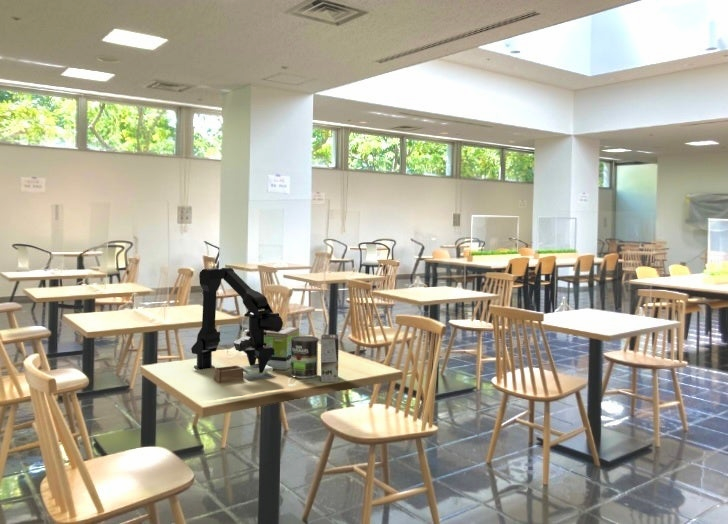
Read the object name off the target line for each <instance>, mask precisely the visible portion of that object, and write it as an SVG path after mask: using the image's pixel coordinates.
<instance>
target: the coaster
mask: <svg viewBox="0 0 728 524" xmlns="http://www.w3.org/2000/svg"><path fill="white" fill-rule="evenodd" d="M271 378H272V379H273V378H277V376H276V375H274V374H272V373H269V371H268V372H267V373H262V374H255V375H248V374H246V373H245V372H243V380H247V381H248V382H252V381H257V380H259V381H260V380H265V379H271Z"/></svg>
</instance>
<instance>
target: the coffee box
mask: <svg viewBox="0 0 728 524" xmlns="http://www.w3.org/2000/svg"><path fill="white" fill-rule="evenodd" d="M338 381H339V335H338V334H321V337H320V382H321V383H338Z"/></svg>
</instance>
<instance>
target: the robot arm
mask: <svg viewBox="0 0 728 524" xmlns="http://www.w3.org/2000/svg"><path fill="white" fill-rule="evenodd" d="M198 276H199V286H200V287H201V289H202V290H203V294H202V295H203V297H202V299H203V300H202V315H201V316H202V317H201V318H202V321H201V328H200V329H199V331H198V332H197V337H196V342H195V343H194V344H193V345H192V347H190V348H191V349H190V350H191V353H192V354H193V355H196V365H193V367H194V368H195V369H197V370H198V371H201V370H209V369H214V368H216V367H215V366H214V365H213V364H212V360H213V358H212V357H213V355H212V353H213V352H217V350H218V346H219V345H220V342H221V339H220V338H221V332H220V331H218V330H217V328H216V313H217V312H216V310H217V309H216V308H217V292H218V290H219V288H220V286H221V284H222V280H224V281H225V282H226V283H227V284H228V285H229V286H230V287H231V289H233V291H234V292H235V293H237V295H239V297H240V298H241V299H242V304H243V305H244V307H245V308H246V310H247V312H245V314H243V316H244V317H246V318H247V317H248V331H246V333H245V336H242V337H240V338H239V339H236V340H234V341H233V342H232V344H233V345H234V349H235V351H238V352H239V353H240V352H243V353H244V354H246V357H247V361H248V364H249V366H251V365H253V364H256V362H257V364H258V366H259V372H260V373H263V371H264V369H265V366H266V364H267V362H268V361H269V359H270V357H271V356H272V355H275V349H274V348H273V347H270V346H266V343H265V342H264V341H265V335H266V331H273V332H279V331H280V330H281V329H282V327H284V322H283V319H282V317H281V316H280V313H279V312H274V311H273V309H272V307H271V306H270V304H269V302H268V298H267V297H266V296H265V295H264V294H262V293H261V292H259V291H257V290H254V289H253V288H251V287H250V286H249V285H248V283H246V282H245V280H243V279H242V278H241V277H240V276H239V275H238V274H237V273H236V272H235V270H234V268H232V267H221V268H218V267H213V268H203V269H202V270H200V272H199V273H198Z"/></svg>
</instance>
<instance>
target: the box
mask: <svg viewBox="0 0 728 524" xmlns="http://www.w3.org/2000/svg"><path fill="white" fill-rule="evenodd" d="M242 367H243V366H240V365H237V364H236V365H230V366H222V367H215V368H213V380H214V381H215V382H217V383H218V384H223V383H224V384H225V383H230V382H231V383H232V382H236V381H238V382H239V381H244V378H243V374H244V372H243V368H242Z"/></svg>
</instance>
